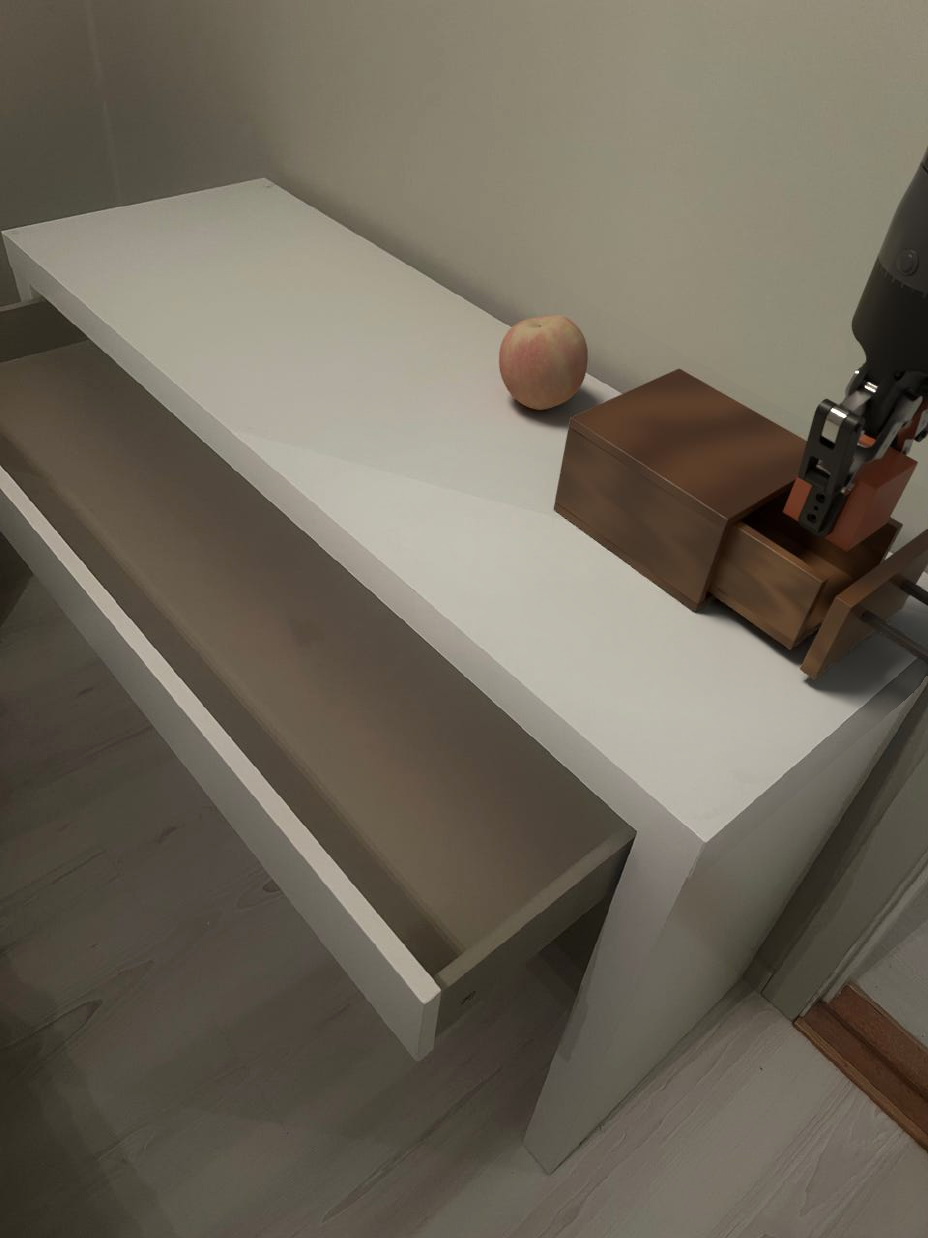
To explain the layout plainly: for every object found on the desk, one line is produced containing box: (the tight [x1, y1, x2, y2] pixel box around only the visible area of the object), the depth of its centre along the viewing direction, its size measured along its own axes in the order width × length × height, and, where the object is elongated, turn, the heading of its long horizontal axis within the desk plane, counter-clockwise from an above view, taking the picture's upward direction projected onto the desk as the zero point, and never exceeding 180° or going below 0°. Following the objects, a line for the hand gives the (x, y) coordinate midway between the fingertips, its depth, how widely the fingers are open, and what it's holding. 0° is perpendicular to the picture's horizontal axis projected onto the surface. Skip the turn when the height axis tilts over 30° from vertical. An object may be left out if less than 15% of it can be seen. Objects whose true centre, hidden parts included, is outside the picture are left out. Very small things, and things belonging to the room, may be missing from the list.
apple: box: [498, 314, 589, 411], centre depth 83 cm, size 8×8×8 cm
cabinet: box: [553, 368, 807, 613], centre depth 71 cm, size 15×13×9 cm
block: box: [783, 435, 919, 552], centre depth 60 cm, size 5×5×5 cm
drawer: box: [708, 487, 928, 680], centre depth 64 cm, size 20×11×7 cm, turn 41°
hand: (837, 512), depth 62 cm, fingers closed on block, 5 cm apart
